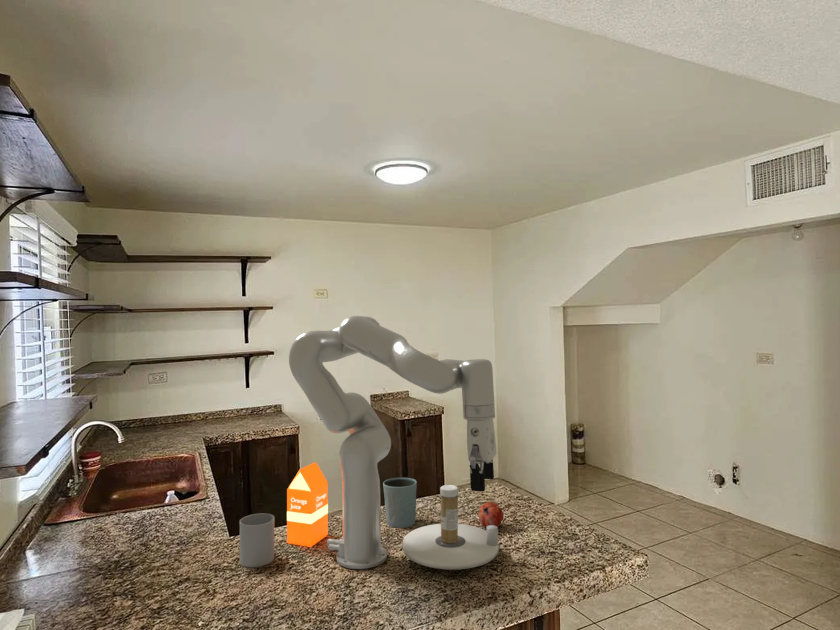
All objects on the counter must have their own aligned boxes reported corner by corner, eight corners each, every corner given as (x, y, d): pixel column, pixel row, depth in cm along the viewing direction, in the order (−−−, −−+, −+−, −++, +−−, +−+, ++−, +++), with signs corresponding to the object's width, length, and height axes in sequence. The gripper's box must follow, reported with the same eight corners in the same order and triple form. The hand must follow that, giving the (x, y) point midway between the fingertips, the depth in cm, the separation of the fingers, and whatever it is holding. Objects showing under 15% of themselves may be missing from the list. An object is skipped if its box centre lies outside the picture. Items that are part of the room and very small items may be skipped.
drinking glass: (416, 529, 147) (416, 487, 148) (381, 529, 147) (381, 487, 148) (417, 516, 157) (417, 476, 158) (384, 516, 157) (384, 477, 158)
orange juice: (286, 543, 138) (286, 468, 139) (304, 530, 146) (304, 460, 147) (311, 547, 135) (311, 471, 136) (328, 534, 144) (328, 462, 144)
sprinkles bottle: (439, 537, 131) (439, 484, 132) (456, 536, 132) (456, 484, 132) (442, 544, 127) (441, 490, 127) (460, 544, 127) (459, 489, 128)
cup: (280, 559, 128) (280, 519, 129) (250, 570, 122) (250, 528, 123) (263, 549, 134) (263, 511, 135) (233, 560, 128) (233, 519, 129)
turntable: (394, 574, 119) (394, 542, 119) (411, 534, 143) (411, 507, 143) (498, 581, 115) (498, 547, 116) (498, 538, 139) (498, 510, 139)
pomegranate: (486, 528, 153) (466, 514, 148) (498, 506, 155) (479, 492, 150) (503, 539, 147) (483, 525, 142) (516, 517, 149) (496, 501, 144)
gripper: (486, 417, 112) (490, 497, 111) (501, 406, 128) (505, 475, 127) (453, 417, 114) (457, 495, 114) (472, 406, 131) (476, 474, 130)
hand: (482, 484), depth 120 cm, fingers open, 9 cm apart
